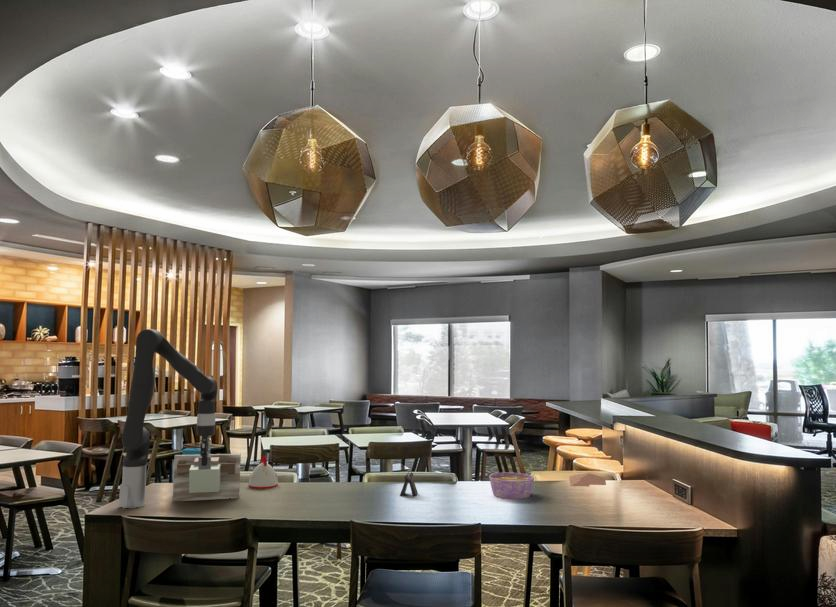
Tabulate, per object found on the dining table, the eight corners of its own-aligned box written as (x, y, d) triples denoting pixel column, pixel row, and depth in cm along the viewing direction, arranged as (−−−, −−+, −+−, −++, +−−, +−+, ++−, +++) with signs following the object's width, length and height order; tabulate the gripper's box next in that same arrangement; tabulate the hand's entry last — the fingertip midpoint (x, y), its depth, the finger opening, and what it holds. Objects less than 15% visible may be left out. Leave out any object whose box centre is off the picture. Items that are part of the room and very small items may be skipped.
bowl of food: (480, 500, 289) (480, 474, 290) (516, 496, 298) (516, 471, 299) (506, 510, 271) (506, 482, 272) (543, 505, 280) (543, 478, 281)
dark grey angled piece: (397, 501, 285) (398, 474, 286) (400, 498, 291) (400, 471, 292) (417, 502, 283) (418, 475, 284) (419, 499, 289) (420, 472, 290)
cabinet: (218, 491, 274) (219, 457, 272) (189, 492, 271) (189, 458, 270) (221, 482, 284) (221, 449, 283) (193, 483, 282) (193, 449, 280)
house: (611, 485, 327) (610, 469, 328) (615, 499, 295) (615, 481, 296) (565, 482, 332) (564, 466, 333) (564, 496, 300) (564, 478, 301)
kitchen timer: (252, 491, 302) (253, 459, 303) (245, 485, 314) (246, 454, 315) (281, 488, 308) (282, 457, 309) (273, 483, 320) (274, 453, 322)
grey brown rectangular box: (238, 502, 279) (239, 456, 281) (170, 504, 274) (172, 457, 276) (240, 496, 292) (241, 451, 293) (175, 498, 287) (177, 452, 288)
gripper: (213, 425, 268) (211, 467, 267) (217, 422, 282) (215, 461, 280) (194, 426, 266) (193, 468, 265) (199, 422, 280) (197, 462, 279)
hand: (204, 464), depth 273 cm, fingers open, 3 cm apart
